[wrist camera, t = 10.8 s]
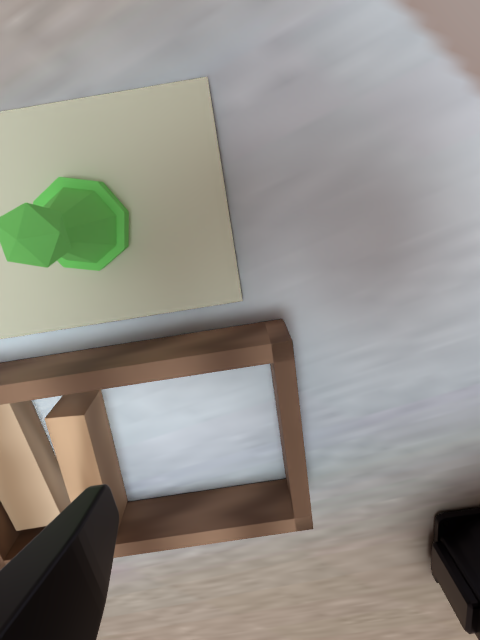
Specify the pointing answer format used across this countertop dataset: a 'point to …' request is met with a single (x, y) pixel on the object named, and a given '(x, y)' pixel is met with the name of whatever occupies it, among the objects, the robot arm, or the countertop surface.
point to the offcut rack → (166, 363)
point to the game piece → (67, 227)
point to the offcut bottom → (28, 469)
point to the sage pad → (135, 194)
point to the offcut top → (85, 445)
